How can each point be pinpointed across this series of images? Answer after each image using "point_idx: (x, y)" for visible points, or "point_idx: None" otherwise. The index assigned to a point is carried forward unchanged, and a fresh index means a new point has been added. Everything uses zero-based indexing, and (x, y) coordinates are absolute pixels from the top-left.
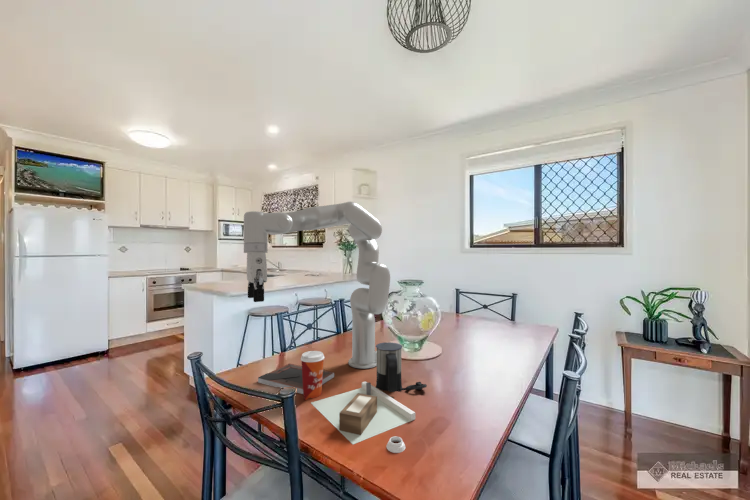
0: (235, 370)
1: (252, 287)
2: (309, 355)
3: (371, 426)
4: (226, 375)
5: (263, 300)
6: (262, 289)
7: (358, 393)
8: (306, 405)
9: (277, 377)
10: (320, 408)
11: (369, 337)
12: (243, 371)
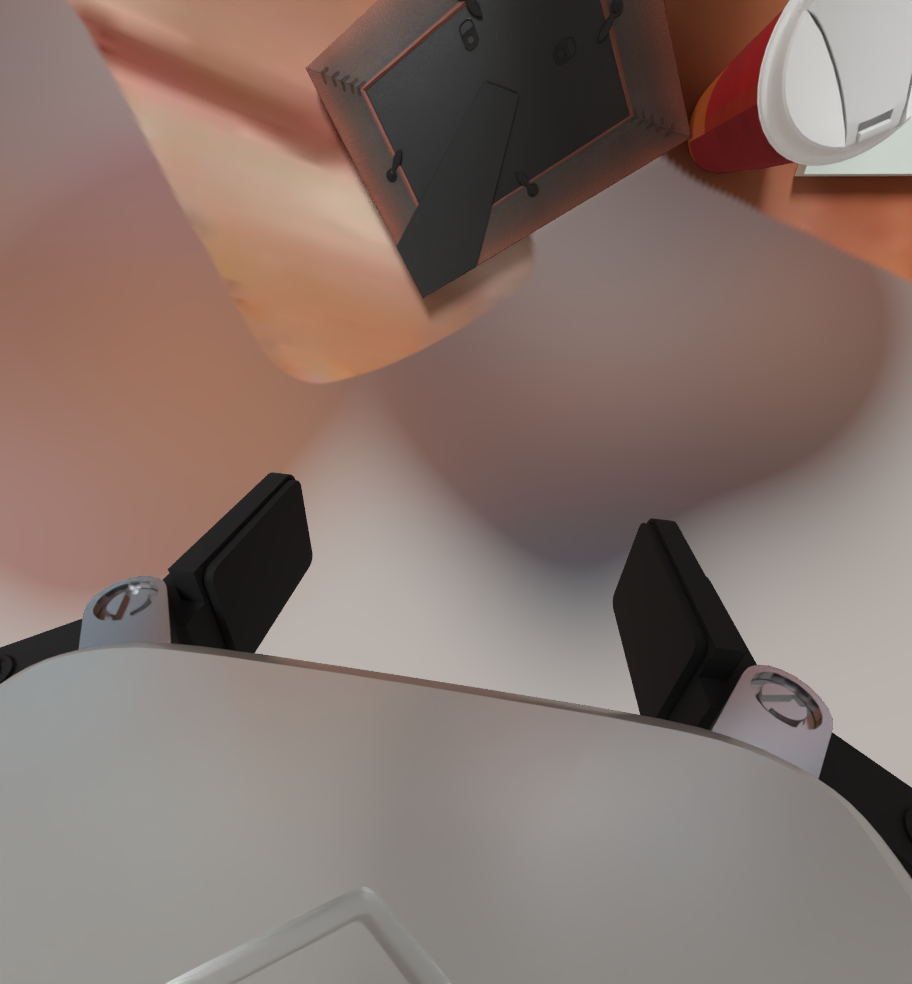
0: (264, 338)
1: (237, 622)
2: (880, 87)
3: None
4: (304, 378)
5: (673, 528)
6: (733, 666)
7: None
8: (768, 188)
9: (469, 217)
10: (890, 155)
11: None
12: (286, 314)
